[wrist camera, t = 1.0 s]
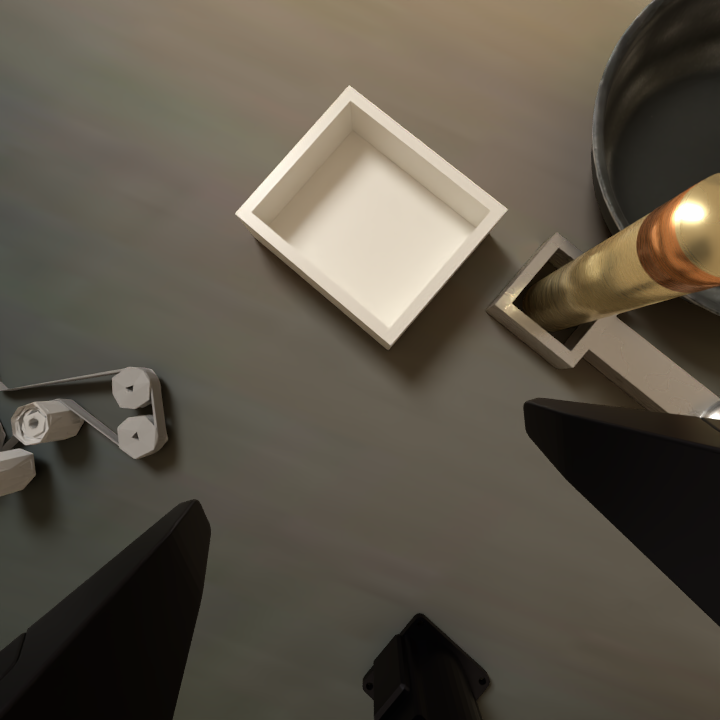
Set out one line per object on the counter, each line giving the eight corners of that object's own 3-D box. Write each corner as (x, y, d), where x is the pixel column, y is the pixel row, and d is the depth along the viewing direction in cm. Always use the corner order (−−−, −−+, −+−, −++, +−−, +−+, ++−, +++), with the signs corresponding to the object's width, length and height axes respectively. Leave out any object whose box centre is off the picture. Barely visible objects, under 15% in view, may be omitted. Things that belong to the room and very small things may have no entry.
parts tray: (489, 232, 26) (507, 209, 22) (388, 350, 25) (390, 345, 22) (352, 124, 27) (349, 85, 23) (253, 236, 26) (234, 213, 23)
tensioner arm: (779, 429, 24) (827, 435, 21) (720, 502, 24) (761, 516, 21) (542, 243, 25) (560, 228, 23) (485, 310, 25) (497, 302, 23)
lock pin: (587, 302, 25) (820, 215, 12) (553, 343, 25) (751, 299, 12) (545, 268, 25) (727, 148, 12) (511, 308, 25) (658, 229, 12)
